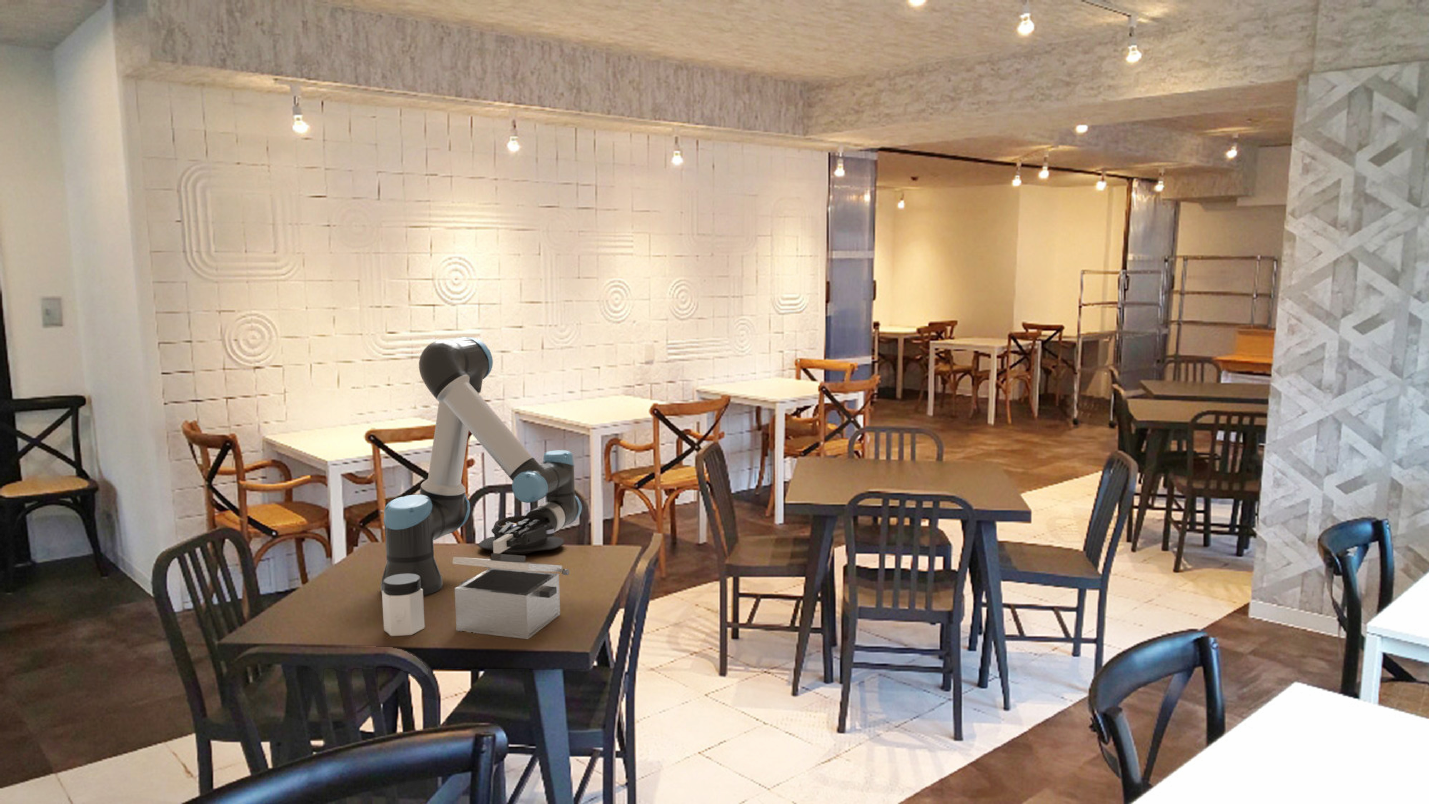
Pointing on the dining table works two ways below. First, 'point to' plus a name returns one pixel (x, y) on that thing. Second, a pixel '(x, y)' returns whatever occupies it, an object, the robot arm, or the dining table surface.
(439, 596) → the dining table surface
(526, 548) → the casserole
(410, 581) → the jar
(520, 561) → the lid
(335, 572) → the dining table surface
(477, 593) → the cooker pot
